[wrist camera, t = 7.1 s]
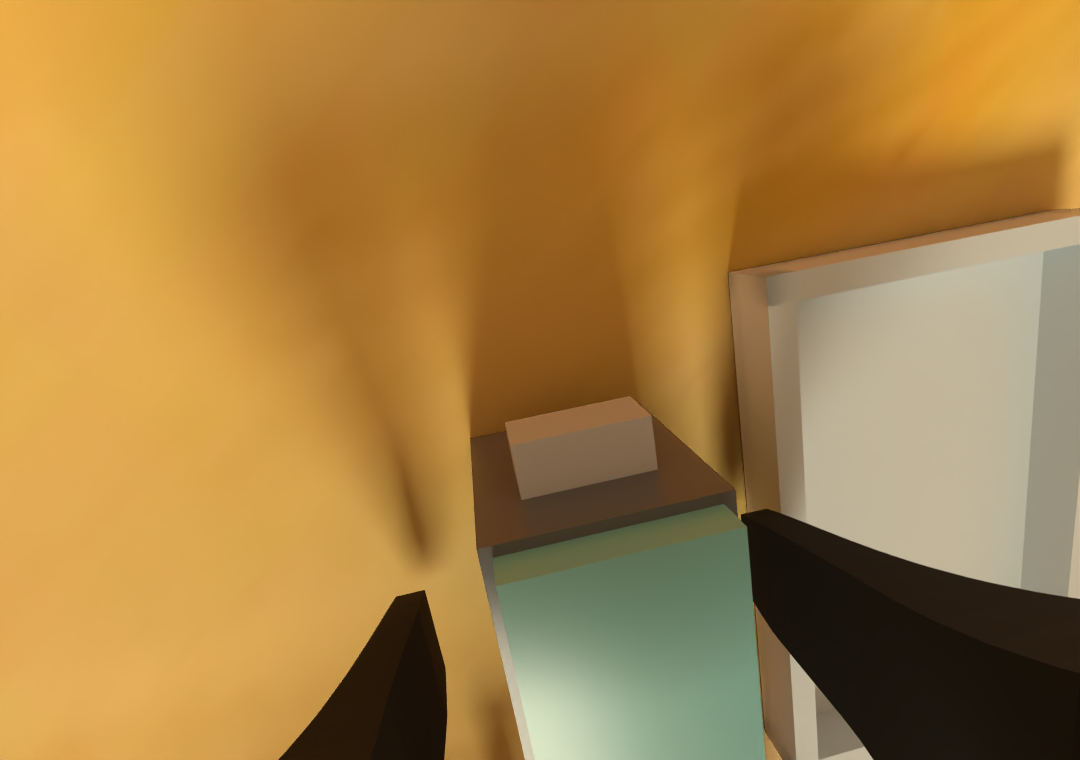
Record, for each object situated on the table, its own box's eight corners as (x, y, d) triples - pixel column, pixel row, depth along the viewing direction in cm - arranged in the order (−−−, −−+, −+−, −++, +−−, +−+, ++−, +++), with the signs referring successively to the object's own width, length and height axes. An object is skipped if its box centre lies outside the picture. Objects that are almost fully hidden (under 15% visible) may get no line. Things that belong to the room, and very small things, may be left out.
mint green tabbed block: (632, 361, 13) (754, 445, 7) (673, 675, 15) (788, 908, 10) (461, 396, 12) (463, 511, 7) (530, 713, 15) (570, 976, 9)
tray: (1051, 210, 13) (1129, 206, 12) (1019, 660, 17) (1076, 703, 15) (727, 272, 12) (766, 276, 11) (765, 731, 16) (798, 783, 14)
